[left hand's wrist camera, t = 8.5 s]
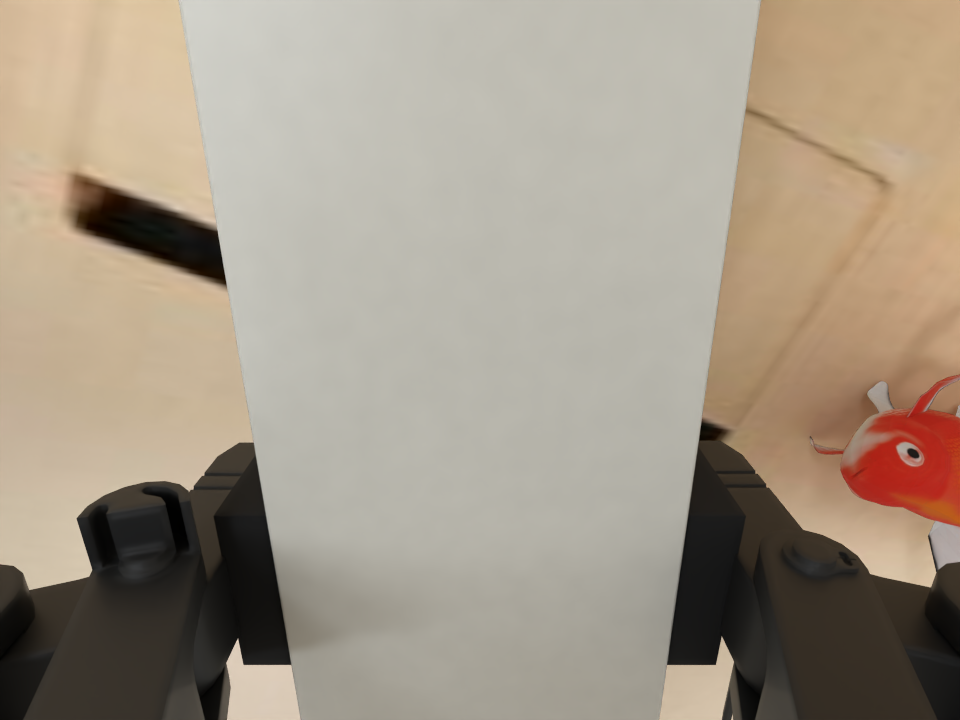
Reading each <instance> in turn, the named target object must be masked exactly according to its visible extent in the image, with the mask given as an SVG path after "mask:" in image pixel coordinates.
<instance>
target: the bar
mask: <svg viewBox="0 0 960 720" xmlns="http://www.w3.org/2000/svg"><path fill="white" fill-rule="evenodd" d="M760 4H761V0H179V5H180V11H181V17H182V23H183V29H184V35H185V41H186V47H187V53H188V58H189V64H190V70H191V76H192V82H193V88H194V94H195V100H196V106H197V111H198V117H199V123H200V129H201V135H202V141H203V147H204V153H205V159H206V164H207V170H208V176H209V182H210V188H211V194H212V200H213V206H214V212H215V217H216V223H217V229H218V235H219V241H220V247H221V253H222V259H223V265H224V270H225V276H226V282H227V288H228V294H229V300H230V306H231V312H232V317H233V323H234V329H235V335H236V341H237V347H238V353H239V359H240V365H241V370H242V376H243V382H244V388H245V394H246V400H247V406H248V412H249V418H250V423H251V429H252V435H253V441H254V447H255V453H256V459H257V465H258V471H259V476H260V482H261V488H262V494H263V500H264V506H265V512H266V518H267V524H268V529H269V535H270V541H271V547H272V553H273V559H274V565H275V571H276V577H277V582H278V588H279V594H280V600H281V606H282V612H283V618H284V624H285V630H286V635H287V641H288V647H289V653H290V659H291V665H292V671H293V677H294V683H295V688H296V694H297V700H298V706H299V712H300V718H301V720H659V717H660V710H661V703H662V696H663V689H664V682H665V675H666V668H667V661H668V653H669V646H670V639H671V632H672V625H673V618H674V611H675V604H676V597H677V590H678V583H679V576H680V569H681V562H682V555H683V548H684V541H685V533H686V526H687V519H688V512H689V505H690V498H691V491H692V484H693V477H694V470H695V463H696V456H697V449H698V442H699V435H700V428H701V421H702V413H703V406H704V399H705V392H706V385H707V378H708V371H709V364H710V357H711V350H712V343H713V336H714V329H715V322H716V315H717V308H718V301H719V293H720V286H721V279H722V272H723V265H724V258H725V251H726V244H727V237H728V230H729V223H730V216H731V209H732V202H733V195H734V188H735V180H736V173H737V166H738V159H739V152H740V145H741V138H742V131H743V124H744V117H745V110H746V103H747V96H748V89H749V82H750V75H751V68H752V60H753V53H754V46H755V39H756V32H757V25H758V18H759V11H760Z"/></svg>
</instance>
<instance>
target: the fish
mask: <svg viewBox="0 0 960 720" xmlns="http://www.w3.org/2000/svg"><path fill="white" fill-rule="evenodd" d="M958 380H960V375H956V376H952V377H947V378H945V379H943V380H941V381H939V382H937V383H936V384H935V385H934V386H933V387H932V388H931V389H930V390H928V391H927V392H926V393H925V394H923V395H922V396H921V397H920V398H919V399H918V401H917V402H916V404H915V405H914V407H913V408H906V409H894V407H893V406H892V404H891V402H890V398H889V392H888V385H887V383H885V382H884V381H880V382H879V383H877V384H876V385H875V386H874V387H872V388H871V389H870V390H869V391H868V394H867V395H868V397H869V399H870V400H871V401H872V402H873V403H874V404H875V406H876V407H877V409H878V412H879V413H878V414H875V415H872V416H870V417H869V418H867V419H866V421H865V422H864V423H863V424H862V425H861V426H860V428H859V429H858V430H857V431H856V432H855V433H854V435H853V437H852V438H851V440H850V442H849V443H848V445H847V446H846V448H845V450H840V449H833V448H827V447H822V446H819V445H815V444H814V441H813V439H812V438H811V437H810V444H811V445H812V446H813V447H814V448H815V449H816V451H817V452H818V453H821V454H843V456H842V460H841V463H840V467H841V473H842V475H843V478H844V479H845V481H846V483H847V484H848V486H849V488H850V490H851V491H852V492H853V493H854V494H855V495H856V496H858V497H860V498H862V499H865V500H868V501H871V502H875V503H878V504H881V505H885V506H892V507H904V508H906V509H908V510H910V511H912V512H914V513H916V514H918V515H921V516H923V517H925V518H928V519H931V520H935V523H934V524H933V527H932V529H931V531H930V533H929V535H928V538H929V542H930V546H931V551H932V555H933V559H934V564H935V568H936V572H937V570H939V569H940V568H941V567H943V566H944V565H945V564H946V563H955V562H960V405H958V410H957V413H956V416H954V415H952V414H948V413H944V412H939V411H934V410H929V409H928V408H929V406H930V405H931V403H932V402H933V400H934V398H935V396H936V395H937V393H938V392H939V391H940V390H941V389H943V388H944V387H946V386H948V385H950V384H951V383H954V382H956V381H958Z"/></svg>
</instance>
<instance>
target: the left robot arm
mask: <svg viewBox="0 0 960 720" xmlns="http://www.w3.org/2000/svg"><path fill="white" fill-rule="evenodd" d="M77 521H78V524H79V528H80V531H81V534H82V537H83V541H84V544H85V547H86V550H87V554H88V557H89V560H90V563H91V566H92V572H91V574H90V576H89V577H87V578H83V579H80V580H75V581H70V582H66V583H61V584H56V585H52V586H47V587H42V588H38V589H33V590H29V589H28V586H27V583H26V580H25V578H24V575H23V573H22V572H21V571H19V570H18V569H17V568H15V567H14V566H8V565H0V720H227V714H228V705H229V697H230V680H229V674H228V669H227V665H226V662H227V660H228V658H229V656H230V654H231V651H232V649H233V647H234V645H235V643H236V641H237V639H239V644H240V649H241V654H242V659H243V664H244V665H291V659H290V653H289V647H288V641H287V635H286V630H285V624H284V618H283V612H282V606H281V600H280V594H279V588H278V582H277V577H276V571H275V565H274V559H273V553H272V547H271V541H270V535H269V529H268V524H267V518H266V512H265V506H264V500H263V494H262V488H261V482H260V476H259V471H258V465H257V459H256V453H255V447H254V443H238V444H237V445H235V446H234V447H232V448H230V449H229V450H227V451H226V452H224V453H223V454H221V455H219V456H218V457H217V458H216V459H215V461H214V462H213V463H212V464H211V466H210V467H209V468H208V469H207V471H206V472H205V475H204V476H202V477H201V478H200V479H199V480H198V482H197V483H196V484H195V485H194V489H193V490H190V492H189V491H188V490H186V489H185V488H184V487H183V486H181V485H180V484H176V483H171V482H166V481H160V482H145V483H140V484H136V485H132V486H127V487H124V488H121V489H119V490H117V491H114V492H112V493H109V494H107V495H104V496H103V497H101V498H100V499H98V500H97V501H95V502H93V503H92V504H90V505H89V506H87V507H86V509H85V510H84V511H83V512H82V513H81V514H80V515H79V516H78V518H77ZM721 637H723V639H724V641H725V643H726V645H727V647H728V650H729V652H730V654H731V656H732V658H733V660H734V665H733V669H732V674H731V678H730V683H729V688H728V692H727V697H726V701H725V706H724V710H723V717H722V720H731V718H732V713H733V720H960V562H955V563H946V564H945V565H944V566H943V567H941V568H940V569H939V570H937V573H936V576H935V578H934V581H933V584H932V587H931V588H930V587H925V586H920V585H916V584H911V583H906V582H901V581H897V580H892V579H887V578H883V577H879V576H875V575H871V574H870V573H869V571H868V569H867V568H866V566H865V565H864V564H863V562H862V561H861V560H860V558H859V557H858V556H857V555H856V554H854V553H853V552H852V551H850V550H849V549H848V548H846V547H845V546H844V545H842V544H840V543H838V542H836V541H834V540H832V539H830V538H828V537H825V536H823V535H820V534H817V533H813V532H809V531H805V530H803V529H802V528H801V527H800V526H799V524H798V523H797V522H796V521H795V519H794V518H793V517H792V516H791V515H790V513H789V512H788V511H787V510H786V508H785V507H784V506H783V505H782V503H781V502H780V501H779V500H778V498H777V497H776V496H775V495H774V494H773V492H772V491H771V490H770V489H769V488H766V484H765V482H764V481H763V480H762V479H761V477H760V476H759V475H758V474H755V470H754V469H753V468H752V466H751V465H750V464H749V463H748V461H747V460H746V459H745V458H744V456H743V455H742V454H740V453H739V452H737V451H735V450H734V449H732V448H731V447H729V446H728V445H726V444H724V443H723V442H721V441H699V442H698V449H697V456H696V463H695V470H694V477H693V484H692V491H691V498H690V505H689V512H688V519H687V526H686V533H685V541H684V548H683V555H682V562H681V569H680V576H679V583H678V590H677V597H676V604H675V611H674V618H673V625H672V632H671V639H670V646H669V653H668V661H667V665H716V661H717V656H718V651H719V646H720V642H721Z"/></svg>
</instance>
